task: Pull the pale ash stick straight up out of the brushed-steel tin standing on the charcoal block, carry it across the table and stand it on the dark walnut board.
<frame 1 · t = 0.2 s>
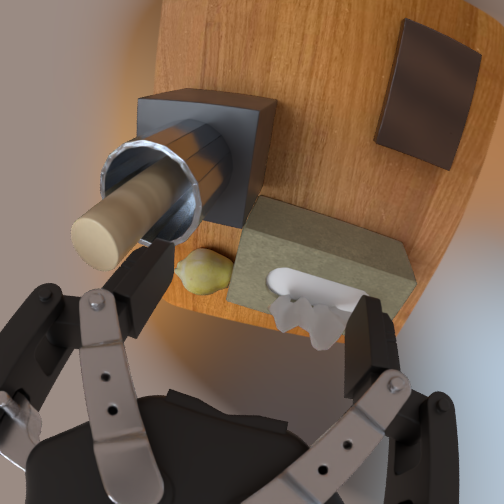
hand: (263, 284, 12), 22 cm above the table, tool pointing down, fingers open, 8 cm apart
tin: (189, 162, 23), resting on stand
board: (428, 94, 24), on the table
stand: (224, 136, 31), on the table
stick: (186, 164, 23), point 10 cm above the table, touching tin
fruit: (219, 261, 41), on the table
tissue box: (321, 250, 37), on the table
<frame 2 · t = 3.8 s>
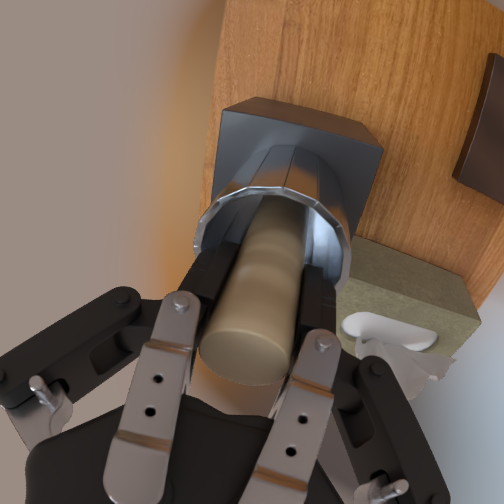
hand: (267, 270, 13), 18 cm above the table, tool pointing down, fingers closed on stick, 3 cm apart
tin: (286, 199, 19), resting on stand
stand: (297, 158, 28), on the table
stick: (286, 202, 19), point 11 cm above the table, touching gripper, tin
tissue box: (383, 283, 33), on the table
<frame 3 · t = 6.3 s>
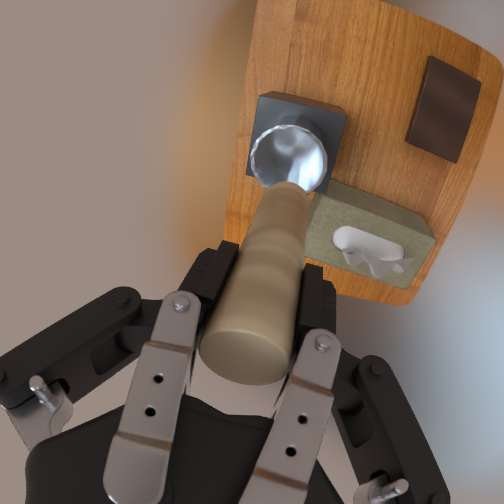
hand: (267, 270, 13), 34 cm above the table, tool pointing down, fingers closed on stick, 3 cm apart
tin: (294, 145, 33), resting on stand
board: (443, 109, 34), on the table
stand: (299, 130, 41), on the table
stick: (286, 203, 19), point 27 cm above the table, touching gripper
tissue box: (363, 220, 47), on the table
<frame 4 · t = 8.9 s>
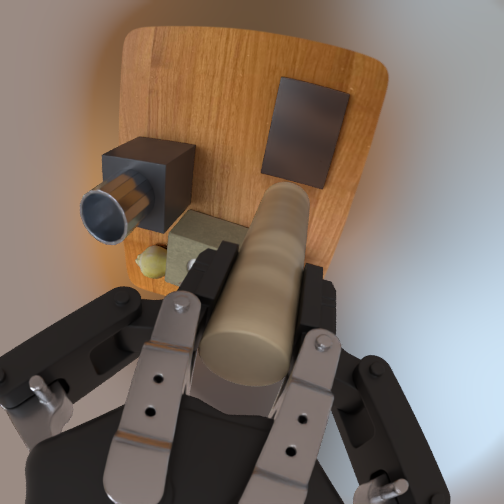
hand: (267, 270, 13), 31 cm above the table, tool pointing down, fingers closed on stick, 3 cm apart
tin: (131, 194, 38), resting on stand
board: (304, 132, 39), on the table
stand: (164, 169, 46), on the table
stick: (286, 203, 19), point 24 cm above the table, touching gripper
fruit: (168, 254, 56), on the table
tissue box: (235, 248, 52), on the table
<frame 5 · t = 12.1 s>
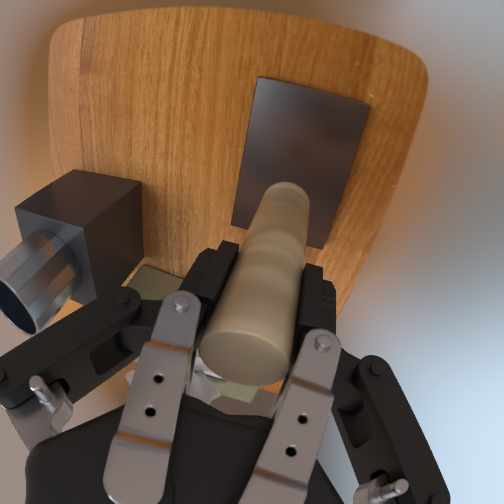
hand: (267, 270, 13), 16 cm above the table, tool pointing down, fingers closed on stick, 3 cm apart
tin: (54, 260, 25), resting on stand
board: (295, 163, 26), on the table
stand: (107, 213, 33), on the table
stick: (286, 203, 19), point 8 cm above the table, touching gripper
tissue box: (205, 312, 39), on the table
when the fingers open (9 cm above the table, at t = 14.3 s): stick stays where it is, resting on board.
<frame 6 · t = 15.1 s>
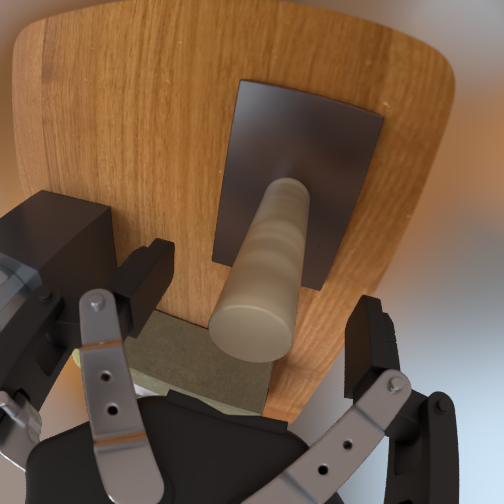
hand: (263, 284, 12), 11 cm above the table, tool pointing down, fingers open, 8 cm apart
tin: (18, 298, 20), resting on stand
board: (289, 188, 21), on the table
stand: (78, 239, 29), on the table
stick: (287, 198, 20), point 1 cm above the table, touching board
tissue box: (190, 347, 34), on the table
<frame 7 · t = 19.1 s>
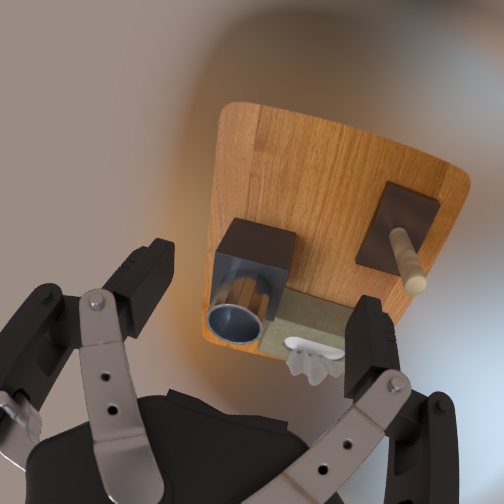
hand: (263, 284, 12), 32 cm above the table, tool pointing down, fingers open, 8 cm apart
tin: (246, 289, 42), resting on stand
board: (396, 230, 43), on the table
stand: (259, 250, 51), on the table
stick: (398, 235, 42), point 1 cm above the table, touching board
tissue box: (317, 316, 56), on the table
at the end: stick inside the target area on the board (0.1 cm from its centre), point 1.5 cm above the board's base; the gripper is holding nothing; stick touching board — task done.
